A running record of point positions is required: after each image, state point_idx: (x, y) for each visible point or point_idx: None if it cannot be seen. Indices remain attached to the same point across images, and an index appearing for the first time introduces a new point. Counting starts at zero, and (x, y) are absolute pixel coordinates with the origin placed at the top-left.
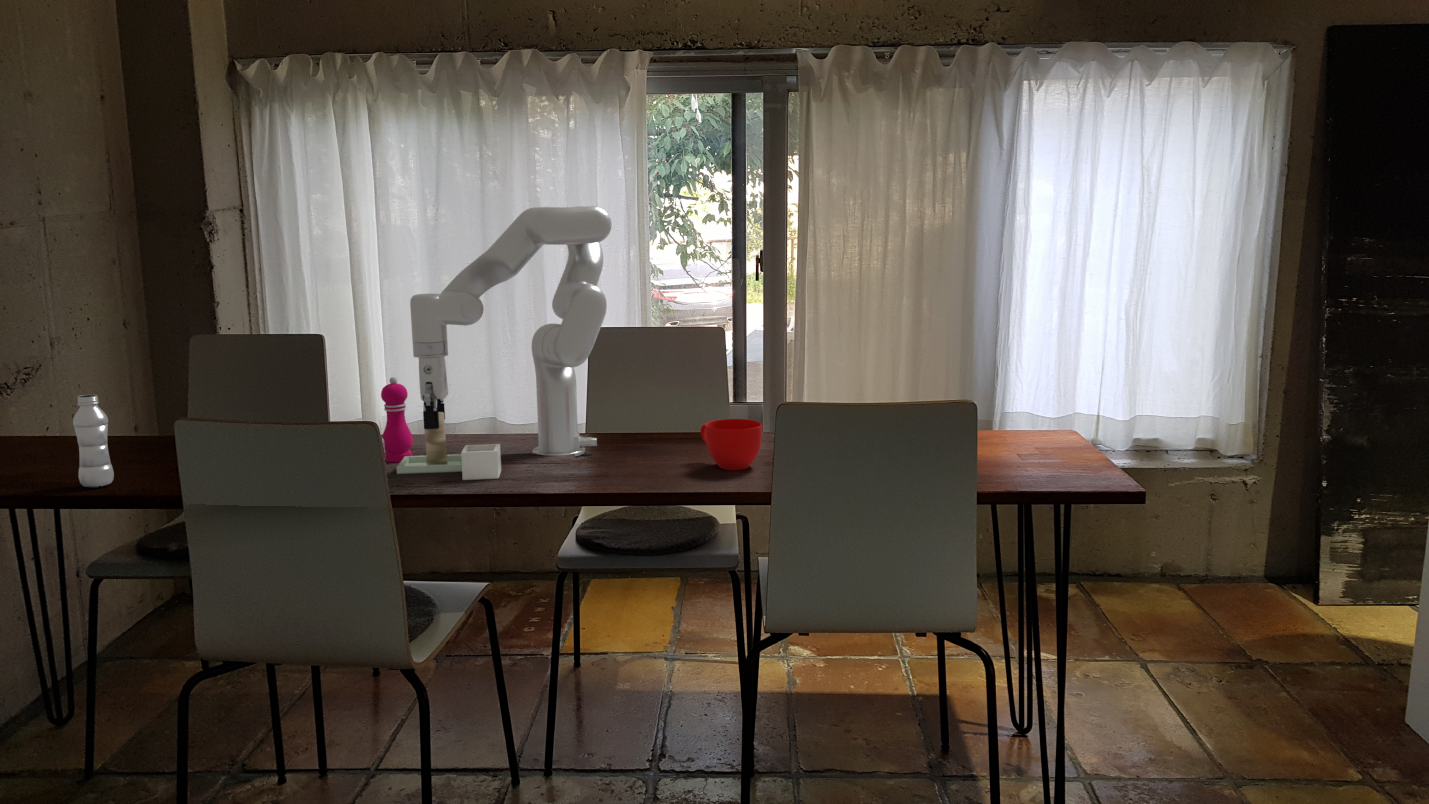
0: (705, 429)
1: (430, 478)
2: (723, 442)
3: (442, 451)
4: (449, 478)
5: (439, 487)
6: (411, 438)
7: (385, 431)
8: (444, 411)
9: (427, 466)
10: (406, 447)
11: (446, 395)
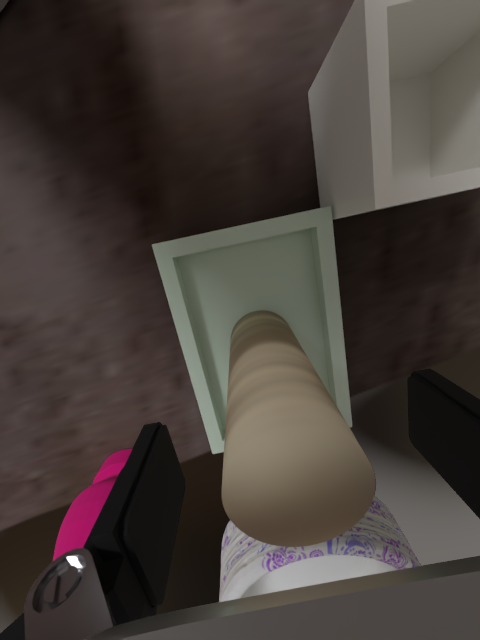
0: None
1: (346, 323)
2: None
3: (289, 332)
4: (350, 268)
5: (456, 261)
6: (104, 499)
7: None
8: (134, 464)
9: (343, 347)
10: None
11: (301, 626)
